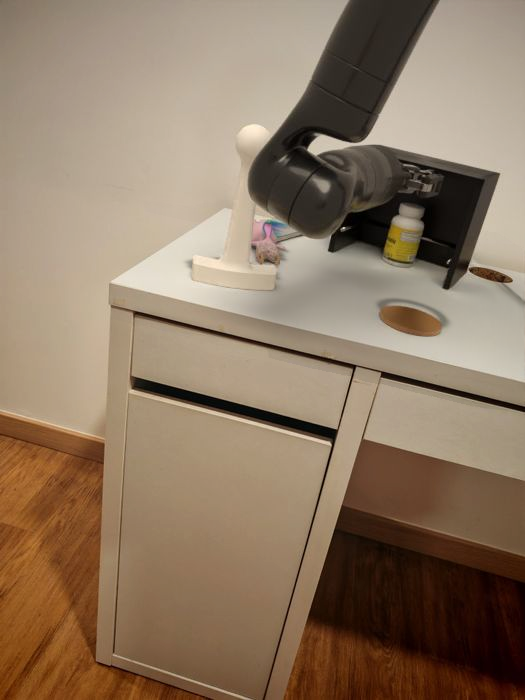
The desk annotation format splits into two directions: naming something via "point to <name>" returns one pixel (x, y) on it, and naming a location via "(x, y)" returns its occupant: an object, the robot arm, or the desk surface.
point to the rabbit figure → (265, 242)
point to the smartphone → (282, 230)
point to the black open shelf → (431, 215)
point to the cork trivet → (410, 320)
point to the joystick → (239, 229)
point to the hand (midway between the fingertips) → (401, 170)
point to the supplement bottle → (404, 236)
